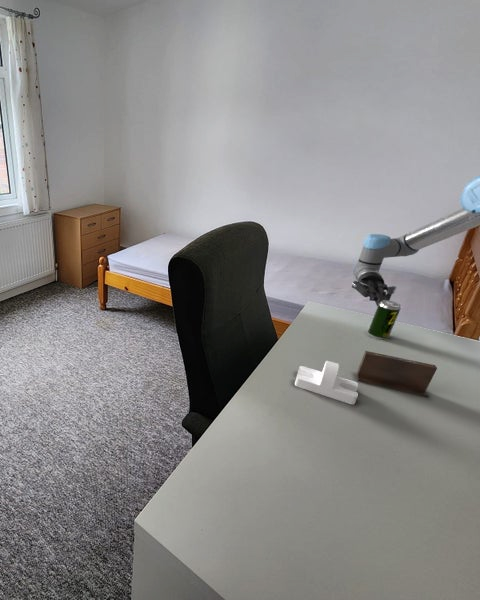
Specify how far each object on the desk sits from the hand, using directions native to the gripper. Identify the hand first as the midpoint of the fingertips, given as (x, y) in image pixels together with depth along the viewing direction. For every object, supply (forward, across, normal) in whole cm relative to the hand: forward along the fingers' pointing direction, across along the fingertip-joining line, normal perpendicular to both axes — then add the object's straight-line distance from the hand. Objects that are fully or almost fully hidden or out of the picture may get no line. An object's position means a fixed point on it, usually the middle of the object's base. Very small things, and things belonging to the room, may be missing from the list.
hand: (381, 303), depth 115 cm
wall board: (+37, +2, -8) cm, 38 cm away
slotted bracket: (+47, +17, -9) cm, 51 cm away
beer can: (+8, 0, -9) cm, 12 cm away
